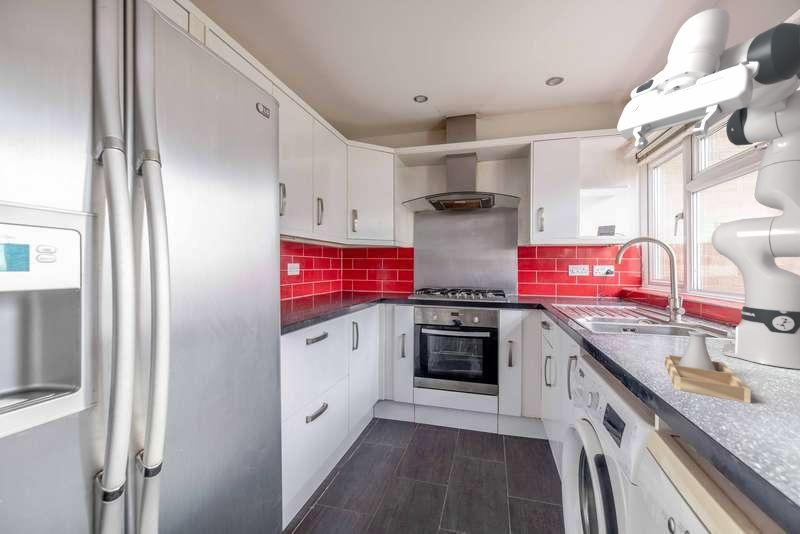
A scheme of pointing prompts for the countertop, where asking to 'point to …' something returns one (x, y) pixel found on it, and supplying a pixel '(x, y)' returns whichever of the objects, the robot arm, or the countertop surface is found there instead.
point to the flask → (697, 352)
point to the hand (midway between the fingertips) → (667, 140)
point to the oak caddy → (707, 380)
